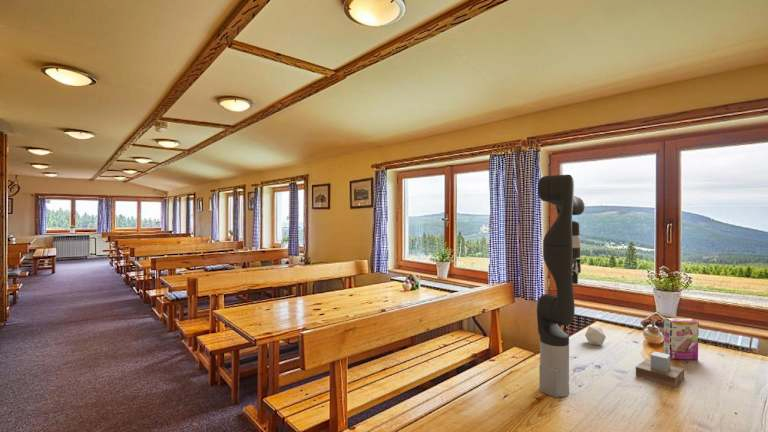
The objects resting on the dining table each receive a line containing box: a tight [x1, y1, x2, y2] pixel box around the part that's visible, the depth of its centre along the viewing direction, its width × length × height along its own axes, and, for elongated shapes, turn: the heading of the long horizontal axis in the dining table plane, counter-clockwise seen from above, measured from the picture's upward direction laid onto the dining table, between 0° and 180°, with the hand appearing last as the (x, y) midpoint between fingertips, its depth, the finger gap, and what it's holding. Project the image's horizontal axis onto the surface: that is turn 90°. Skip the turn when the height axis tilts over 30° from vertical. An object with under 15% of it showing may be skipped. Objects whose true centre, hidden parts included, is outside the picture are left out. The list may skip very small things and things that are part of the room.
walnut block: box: [635, 358, 685, 389], centre depth 138 cm, size 12×12×4 cm
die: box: [584, 326, 607, 347], centre depth 173 cm, size 8×9×10 cm
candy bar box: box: [662, 317, 700, 361], centre depth 156 cm, size 11×5×16 cm, turn 84°
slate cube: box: [650, 350, 671, 372], centre depth 138 cm, size 5×5×5 cm
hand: (570, 284), depth 153 cm, fingers open, 8 cm apart
